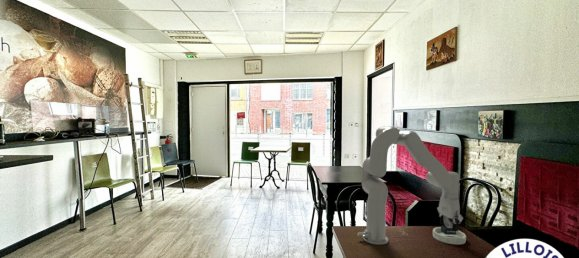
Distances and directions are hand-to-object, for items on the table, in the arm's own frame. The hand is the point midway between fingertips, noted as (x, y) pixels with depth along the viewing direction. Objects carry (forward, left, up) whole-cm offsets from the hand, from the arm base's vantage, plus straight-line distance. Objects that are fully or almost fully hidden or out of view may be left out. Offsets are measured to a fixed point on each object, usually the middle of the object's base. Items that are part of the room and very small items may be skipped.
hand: (448, 227), depth 147 cm
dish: (0, 0, -6) cm, 6 cm away
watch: (0, 0, -3) cm, 3 cm away
